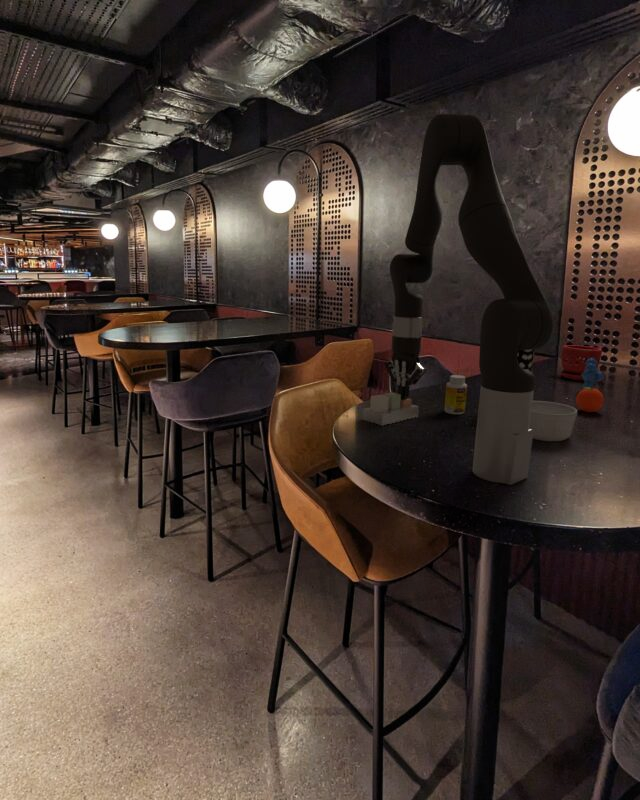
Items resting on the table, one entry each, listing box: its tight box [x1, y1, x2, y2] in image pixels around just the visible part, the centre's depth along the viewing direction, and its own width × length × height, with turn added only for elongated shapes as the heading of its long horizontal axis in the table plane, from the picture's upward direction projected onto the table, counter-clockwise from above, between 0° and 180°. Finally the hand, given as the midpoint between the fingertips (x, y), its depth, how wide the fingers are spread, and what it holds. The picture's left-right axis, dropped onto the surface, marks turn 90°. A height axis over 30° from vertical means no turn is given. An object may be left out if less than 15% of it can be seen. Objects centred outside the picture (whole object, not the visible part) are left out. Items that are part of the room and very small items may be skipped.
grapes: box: [581, 358, 605, 390], centre depth 164 cm, size 12×7×12 cm, turn 151°
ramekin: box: [529, 400, 578, 442], centre depth 121 cm, size 13×13×7 cm
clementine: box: [575, 387, 605, 413], centre depth 143 cm, size 8×7×7 cm
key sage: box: [382, 391, 401, 410], centre depth 132 cm, size 3×3×4 cm
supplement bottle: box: [443, 374, 468, 415], centre depth 139 cm, size 6×6×10 cm
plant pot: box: [560, 344, 603, 381], centre depth 189 cm, size 13×13×12 cm
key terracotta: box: [400, 397, 413, 407], centre depth 135 cm, size 3×3×4 cm
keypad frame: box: [361, 403, 420, 427], centre depth 133 cm, size 7×14×3 cm, turn 130°
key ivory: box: [369, 394, 389, 413], centre depth 129 cm, size 3×3×4 cm
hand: (402, 399), depth 135 cm, fingers closed
